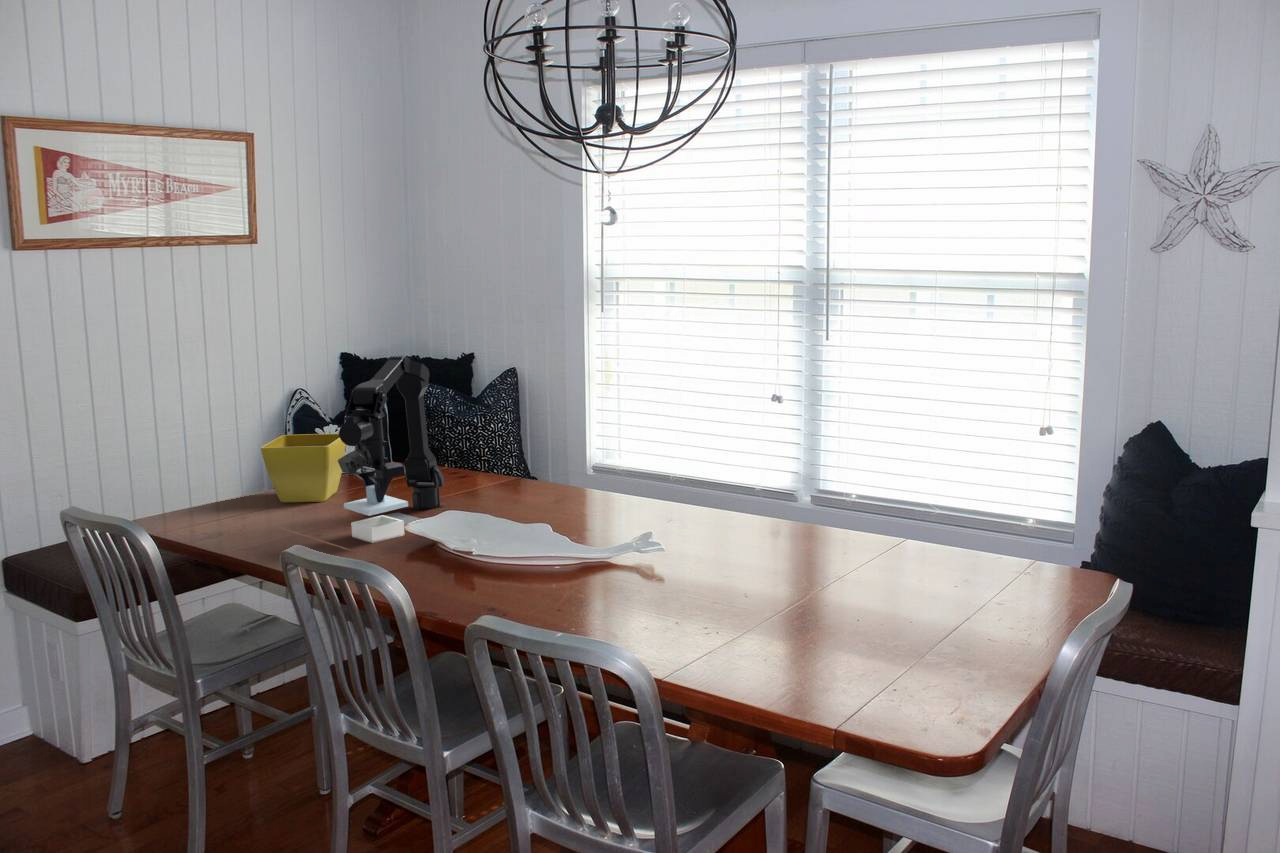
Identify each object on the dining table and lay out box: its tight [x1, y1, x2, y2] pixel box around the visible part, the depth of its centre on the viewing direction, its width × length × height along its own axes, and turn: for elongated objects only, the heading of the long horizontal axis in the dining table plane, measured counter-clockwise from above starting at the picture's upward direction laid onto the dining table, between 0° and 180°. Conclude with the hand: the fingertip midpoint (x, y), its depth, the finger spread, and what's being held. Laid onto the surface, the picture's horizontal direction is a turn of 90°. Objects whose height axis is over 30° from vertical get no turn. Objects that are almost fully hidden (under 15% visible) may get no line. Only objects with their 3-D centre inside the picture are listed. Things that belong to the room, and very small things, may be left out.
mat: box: [383, 512, 422, 526], centre depth 280 cm, size 13×13×1 cm
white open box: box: [350, 514, 405, 544], centre depth 266 cm, size 9×9×4 cm
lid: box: [343, 485, 409, 517], centre depth 265 cm, size 11×11×5 cm
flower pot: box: [260, 433, 347, 503], centre depth 311 cm, size 19×19×17 cm
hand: (376, 501), depth 265 cm, fingers closed on lid, 3 cm apart
